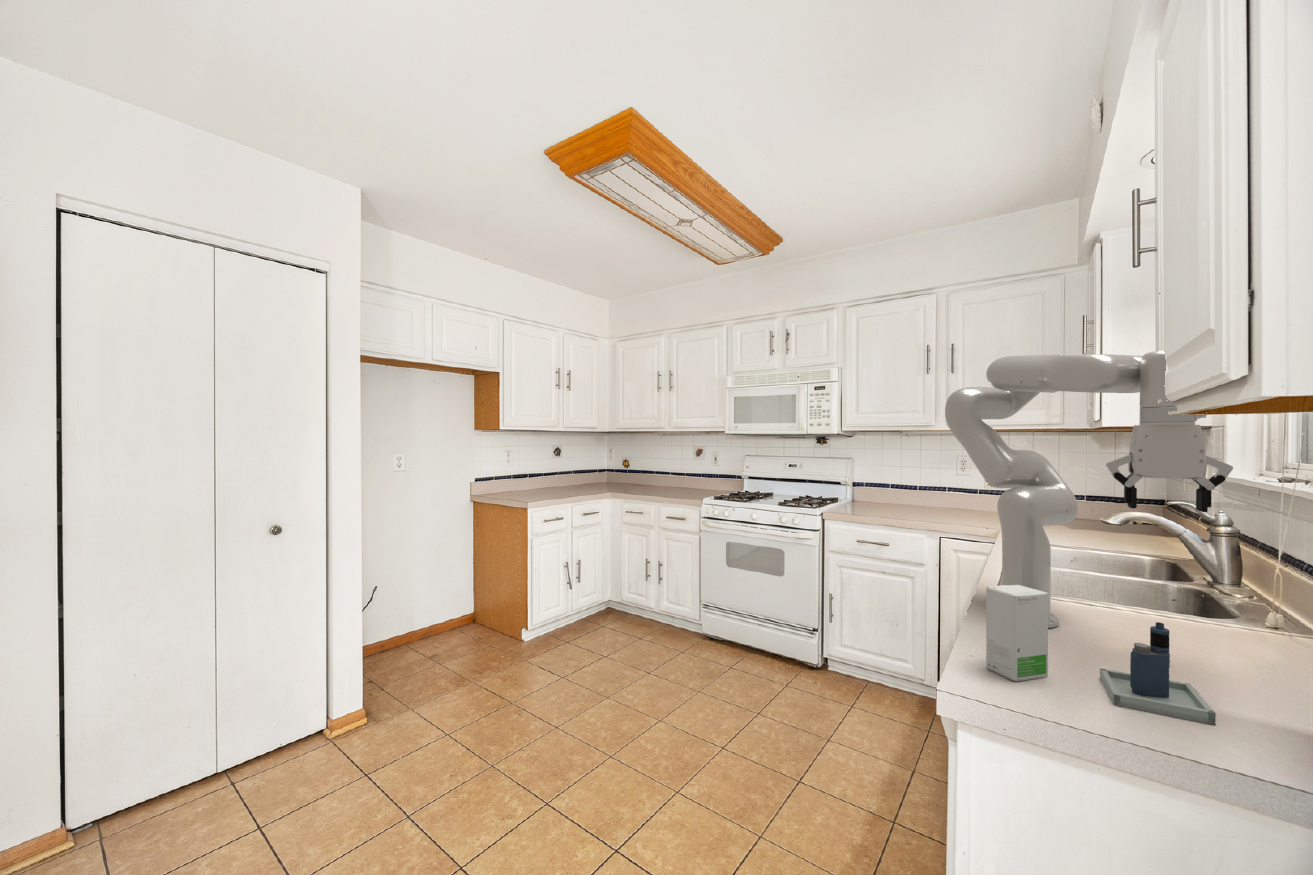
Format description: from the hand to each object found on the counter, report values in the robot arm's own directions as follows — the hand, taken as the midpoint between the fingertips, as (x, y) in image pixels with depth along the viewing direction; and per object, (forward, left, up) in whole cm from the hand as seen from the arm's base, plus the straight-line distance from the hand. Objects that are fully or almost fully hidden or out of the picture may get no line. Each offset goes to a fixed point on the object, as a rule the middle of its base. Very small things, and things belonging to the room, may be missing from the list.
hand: (1166, 509), depth 100 cm
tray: (+15, -5, -30) cm, 34 cm away
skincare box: (+14, -24, -31) cm, 41 cm away
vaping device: (+15, -5, -30) cm, 34 cm away
